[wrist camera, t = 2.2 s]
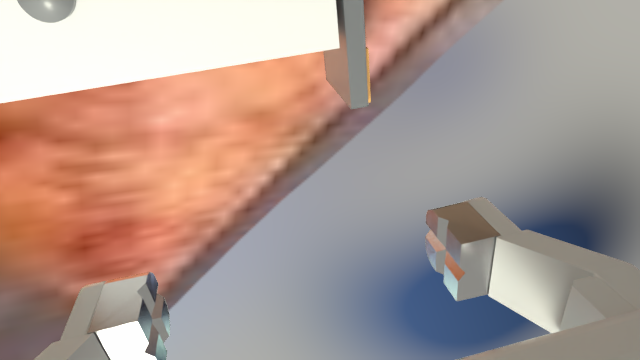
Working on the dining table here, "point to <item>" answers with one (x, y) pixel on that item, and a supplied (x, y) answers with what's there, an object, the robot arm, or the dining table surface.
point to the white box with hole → (148, 39)
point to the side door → (350, 56)
